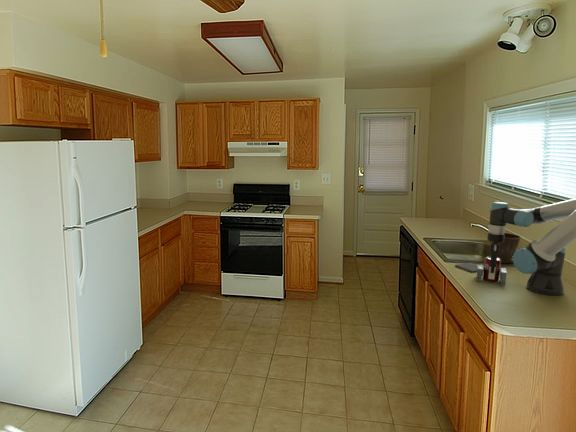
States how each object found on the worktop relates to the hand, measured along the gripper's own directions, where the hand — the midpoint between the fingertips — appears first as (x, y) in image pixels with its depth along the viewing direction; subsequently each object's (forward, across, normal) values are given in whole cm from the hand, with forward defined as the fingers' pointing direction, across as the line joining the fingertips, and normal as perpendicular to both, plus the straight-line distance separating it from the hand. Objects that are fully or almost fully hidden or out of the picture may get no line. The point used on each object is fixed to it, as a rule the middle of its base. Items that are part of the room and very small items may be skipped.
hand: (491, 276), depth 208 cm
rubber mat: (+3, -18, -9) cm, 21 cm away
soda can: (+3, 0, 0) cm, 3 cm away
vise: (+3, 0, 0) cm, 3 cm away
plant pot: (+3, -45, +8) cm, 45 cm away
